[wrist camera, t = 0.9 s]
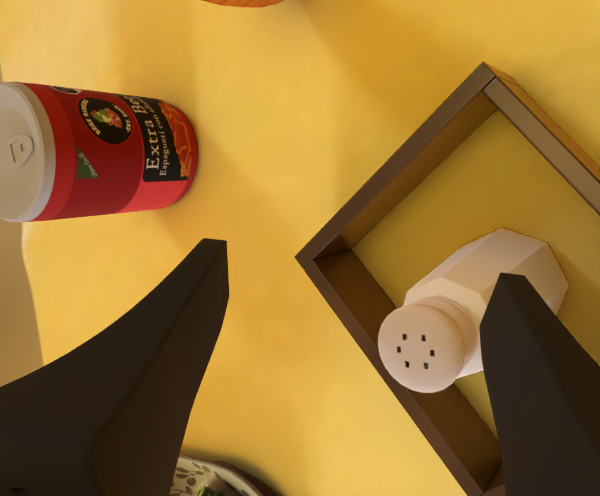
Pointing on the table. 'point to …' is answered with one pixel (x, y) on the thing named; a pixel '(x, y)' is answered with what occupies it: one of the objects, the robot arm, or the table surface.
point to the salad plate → (213, 479)
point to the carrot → (245, 2)
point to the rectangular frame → (374, 302)
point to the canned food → (89, 153)
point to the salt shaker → (461, 308)
